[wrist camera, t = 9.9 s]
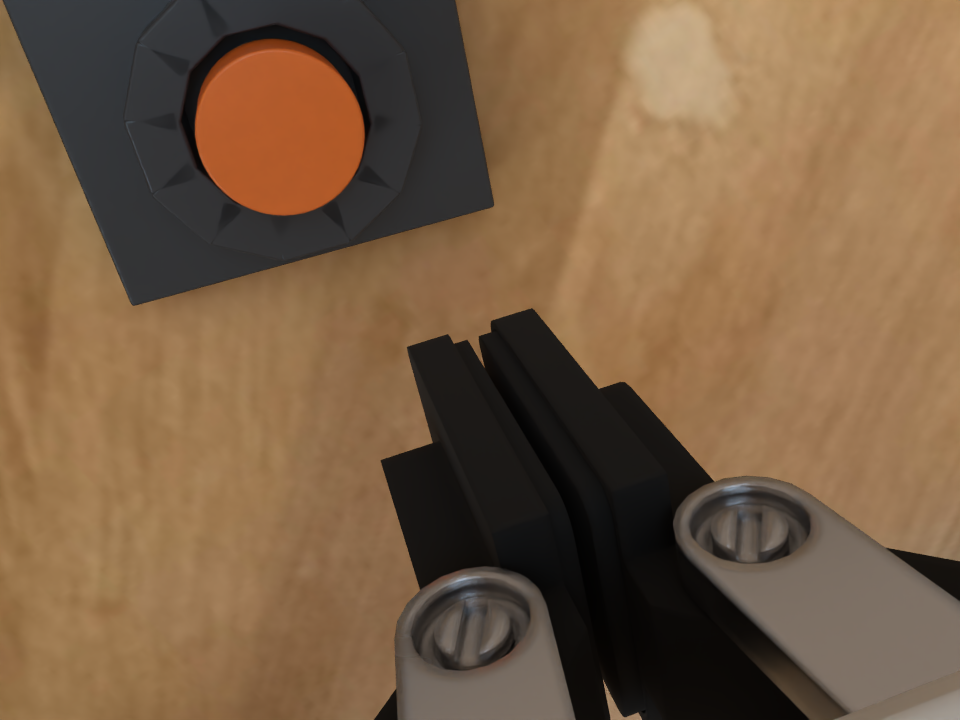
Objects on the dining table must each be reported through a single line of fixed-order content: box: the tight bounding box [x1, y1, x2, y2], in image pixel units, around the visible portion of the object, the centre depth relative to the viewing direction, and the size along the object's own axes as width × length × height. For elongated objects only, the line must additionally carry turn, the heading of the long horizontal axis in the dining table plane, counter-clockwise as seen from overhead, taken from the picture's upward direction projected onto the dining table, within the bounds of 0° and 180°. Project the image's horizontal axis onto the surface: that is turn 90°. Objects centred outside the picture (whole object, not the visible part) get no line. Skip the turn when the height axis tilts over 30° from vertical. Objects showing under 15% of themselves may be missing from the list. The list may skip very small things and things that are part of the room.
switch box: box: [3, 0, 494, 306], centre depth 22 cm, size 10×8×4 cm
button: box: [195, 39, 365, 216], centre depth 20 cm, size 4×4×2 cm
